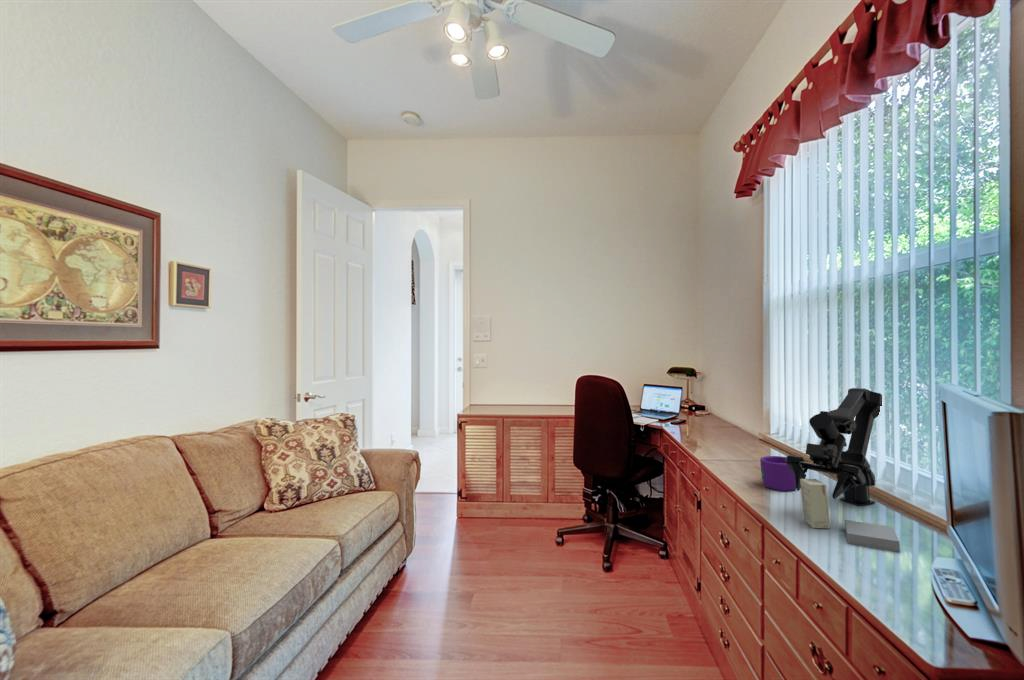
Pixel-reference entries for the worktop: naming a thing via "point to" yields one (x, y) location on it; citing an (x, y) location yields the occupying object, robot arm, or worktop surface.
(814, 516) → the skincare box
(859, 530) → the flat gray square pad
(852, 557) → the worktop surface
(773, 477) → the purple oval open container
